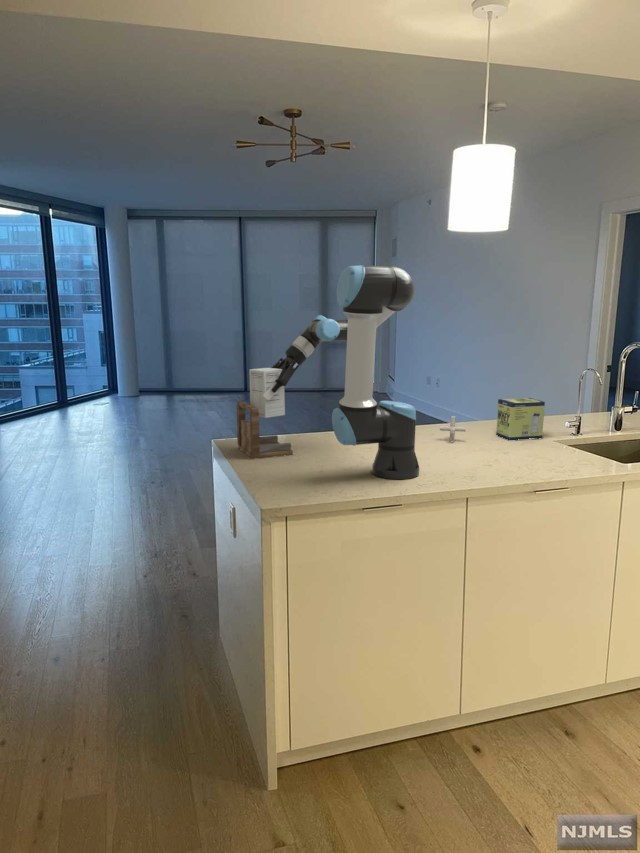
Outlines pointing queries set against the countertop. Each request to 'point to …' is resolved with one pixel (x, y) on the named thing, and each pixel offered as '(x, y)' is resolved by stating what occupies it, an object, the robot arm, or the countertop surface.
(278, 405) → the supplement box
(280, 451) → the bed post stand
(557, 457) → the countertop surface
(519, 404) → the protein box
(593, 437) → the countertop surface
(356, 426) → the robot arm
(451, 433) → the pipe connector
